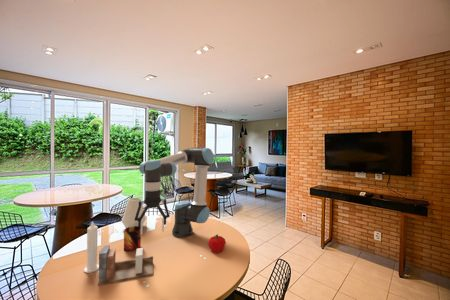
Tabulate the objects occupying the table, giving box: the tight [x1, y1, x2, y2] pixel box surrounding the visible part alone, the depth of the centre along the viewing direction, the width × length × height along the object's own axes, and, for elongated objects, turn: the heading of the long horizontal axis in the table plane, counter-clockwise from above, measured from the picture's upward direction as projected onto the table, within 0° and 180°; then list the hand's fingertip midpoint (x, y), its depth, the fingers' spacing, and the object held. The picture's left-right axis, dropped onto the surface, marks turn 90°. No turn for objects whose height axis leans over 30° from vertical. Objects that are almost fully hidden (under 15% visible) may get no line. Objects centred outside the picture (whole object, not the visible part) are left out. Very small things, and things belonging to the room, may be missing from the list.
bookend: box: [135, 247, 144, 274], centre depth 103 cm, size 3×8×9 cm, turn 20°
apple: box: [207, 234, 226, 254], centre depth 126 cm, size 11×11×10 cm
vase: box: [121, 197, 147, 229], centre depth 159 cm, size 18×17×23 cm
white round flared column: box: [83, 221, 99, 274], centre depth 105 cm, size 7×7×25 cm
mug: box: [123, 226, 142, 253], centre depth 127 cm, size 10×14×12 cm
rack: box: [97, 244, 154, 287], centre depth 101 cm, size 24×11×14 cm, turn 110°
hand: (152, 232), depth 105 cm, fingers open, 10 cm apart
